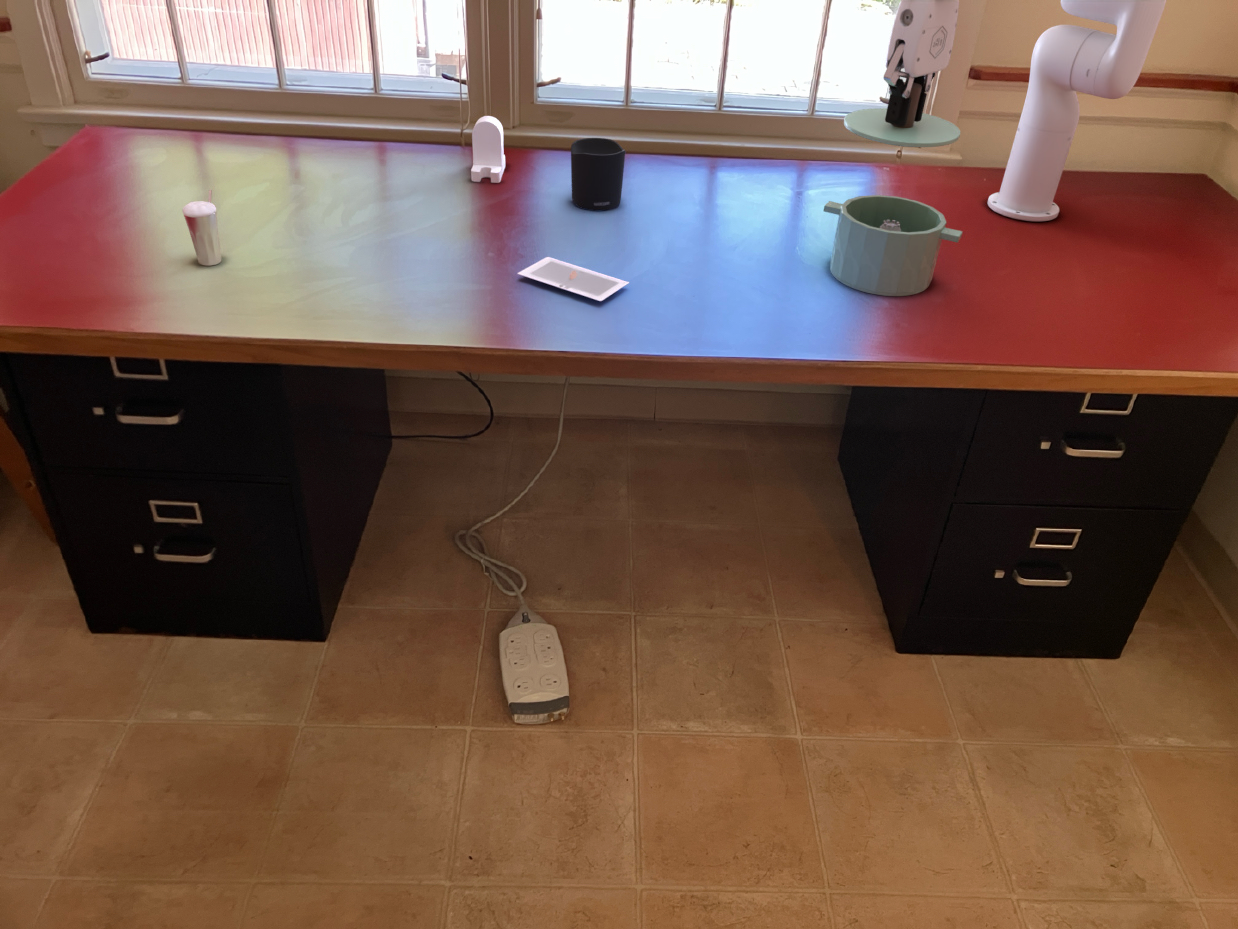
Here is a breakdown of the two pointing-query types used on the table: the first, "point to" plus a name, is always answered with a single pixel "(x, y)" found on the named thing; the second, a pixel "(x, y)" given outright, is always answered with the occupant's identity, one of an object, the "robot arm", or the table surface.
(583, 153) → the pen holder
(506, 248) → the table surface
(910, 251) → the pale green cooking pot
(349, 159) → the table surface
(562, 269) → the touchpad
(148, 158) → the table surface
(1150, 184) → the table surface
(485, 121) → the white phone stand
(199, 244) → the milkshake
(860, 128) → the pot lid
